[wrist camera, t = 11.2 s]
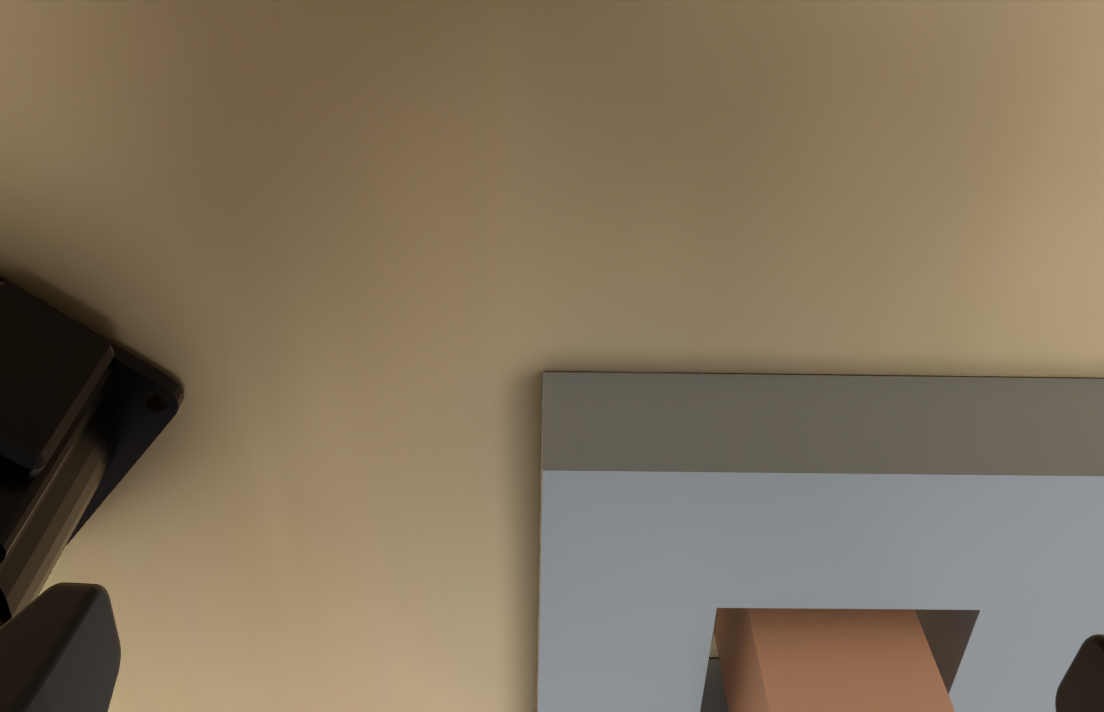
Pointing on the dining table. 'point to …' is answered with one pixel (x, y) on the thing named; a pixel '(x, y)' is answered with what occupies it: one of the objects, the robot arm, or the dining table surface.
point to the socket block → (815, 525)
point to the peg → (827, 661)
